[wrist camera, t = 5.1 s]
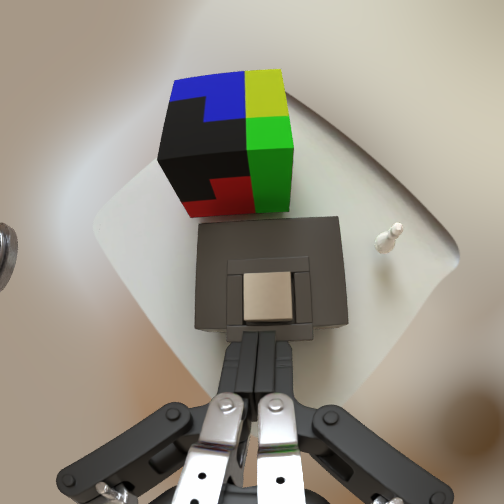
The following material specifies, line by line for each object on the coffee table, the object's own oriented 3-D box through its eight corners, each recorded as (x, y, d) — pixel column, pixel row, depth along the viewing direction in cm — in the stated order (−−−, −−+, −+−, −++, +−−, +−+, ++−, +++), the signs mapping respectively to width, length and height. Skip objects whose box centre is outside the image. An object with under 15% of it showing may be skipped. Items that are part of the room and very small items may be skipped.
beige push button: (247, 322, 21) (243, 320, 19) (246, 279, 22) (243, 273, 20) (291, 320, 21) (292, 318, 19) (290, 277, 22) (290, 271, 20)
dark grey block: (207, 343, 26) (186, 341, 20) (210, 240, 29) (192, 214, 24) (339, 339, 25) (354, 336, 19) (331, 234, 28) (341, 206, 22)
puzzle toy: (196, 143, 33) (174, 80, 24) (281, 136, 32) (280, 68, 23) (190, 217, 30) (157, 160, 20) (289, 211, 29) (293, 147, 20)
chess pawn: (383, 259, 27) (398, 244, 23) (369, 244, 27) (382, 228, 23) (398, 242, 27) (414, 226, 23) (384, 228, 28) (398, 210, 24)
